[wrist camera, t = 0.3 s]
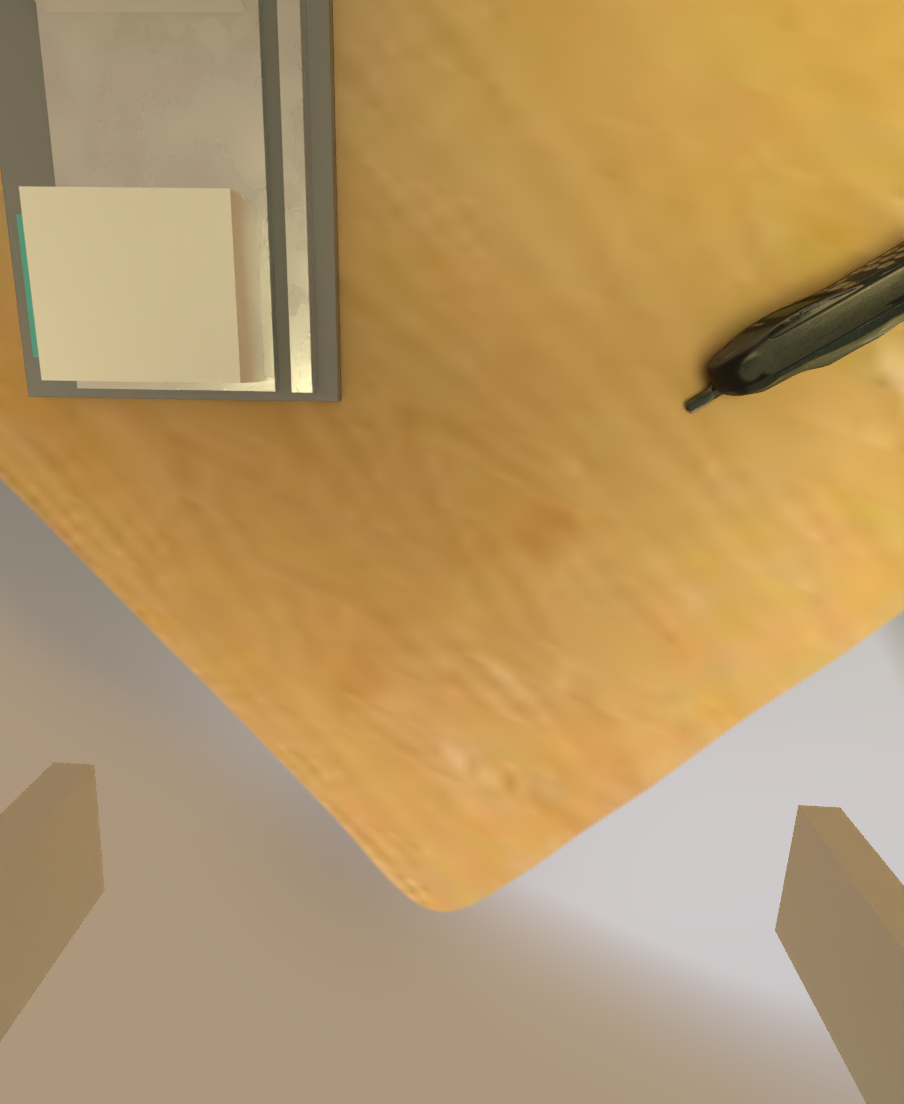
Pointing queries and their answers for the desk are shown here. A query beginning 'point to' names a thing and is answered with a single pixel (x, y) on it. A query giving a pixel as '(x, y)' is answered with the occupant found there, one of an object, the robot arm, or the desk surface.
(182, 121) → the rail panel
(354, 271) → the desk surface
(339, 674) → the desk surface
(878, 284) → the mobile phone
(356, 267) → the desk surface
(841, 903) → the robot arm
